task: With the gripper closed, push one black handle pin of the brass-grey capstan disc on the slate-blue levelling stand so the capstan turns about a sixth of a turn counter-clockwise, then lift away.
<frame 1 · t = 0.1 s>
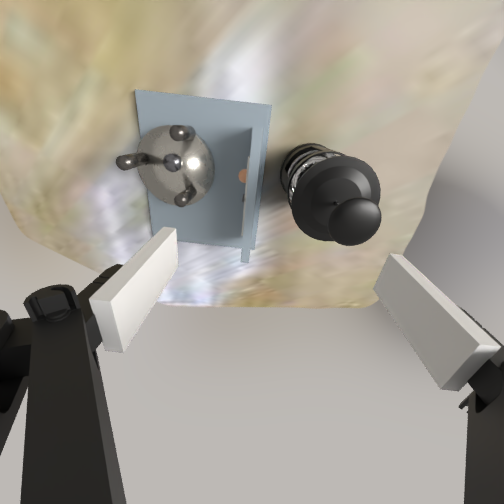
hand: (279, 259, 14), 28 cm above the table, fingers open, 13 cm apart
stand: (205, 180, 39), on the table
french press: (310, 173, 38), on the table
capstan: (170, 169, 34), point 5 cm above the table, hinge at 0.0°
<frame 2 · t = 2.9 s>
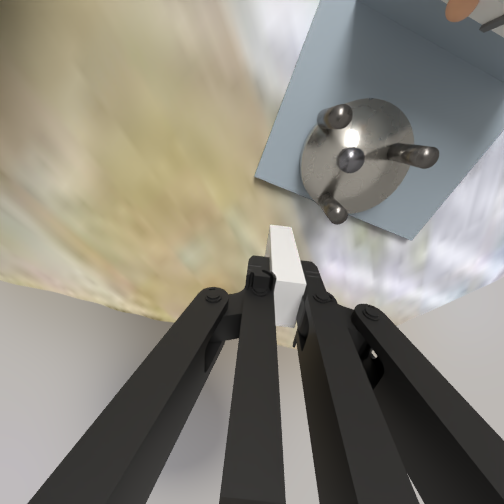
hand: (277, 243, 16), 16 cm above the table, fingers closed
stand: (379, 131, 27), on the table
capstan: (361, 164, 24), point 5 cm above the table, hinge at 0.0°
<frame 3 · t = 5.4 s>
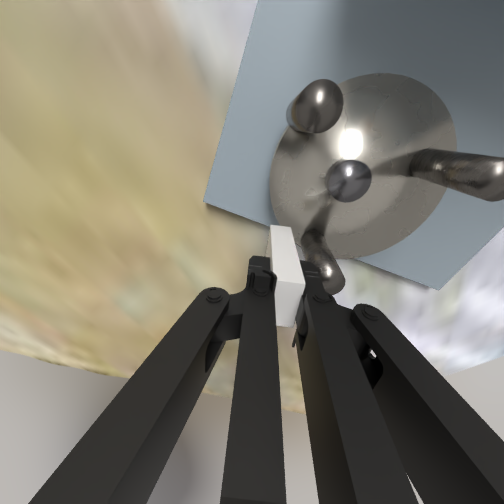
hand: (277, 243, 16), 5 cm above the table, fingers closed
stand: (394, 132, 17), on the table
capstan: (365, 189, 14), point 5 cm above the table, hinge at 2.4°, touching gripper
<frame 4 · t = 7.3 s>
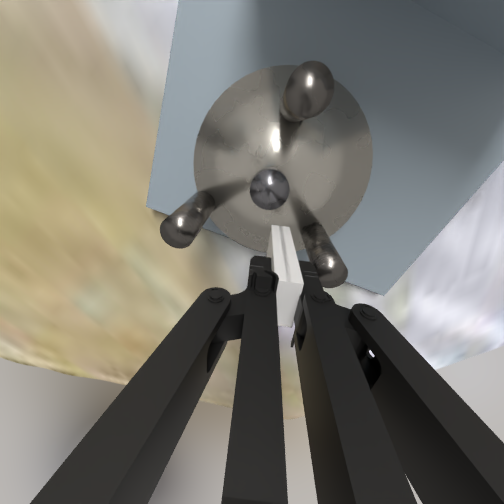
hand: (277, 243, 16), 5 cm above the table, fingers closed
stand: (325, 142, 17), on the table
capstan: (280, 183, 14), point 5 cm above the table, hinge at 65.9°, touching gripper
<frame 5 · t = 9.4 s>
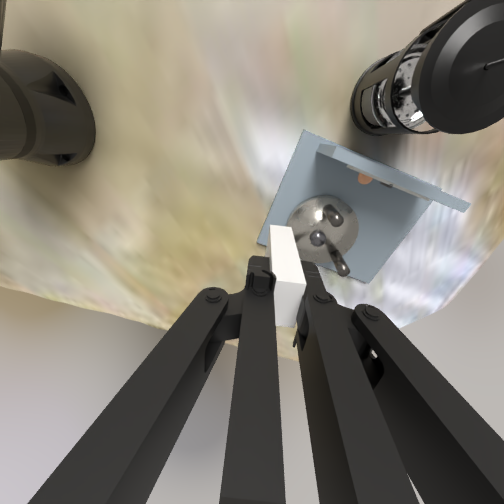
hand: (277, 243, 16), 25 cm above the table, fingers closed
stand: (339, 215, 40), on the table
french press: (386, 94, 32), on the table
capstan: (323, 237, 37), point 5 cm above the table, hinge at 66.9°
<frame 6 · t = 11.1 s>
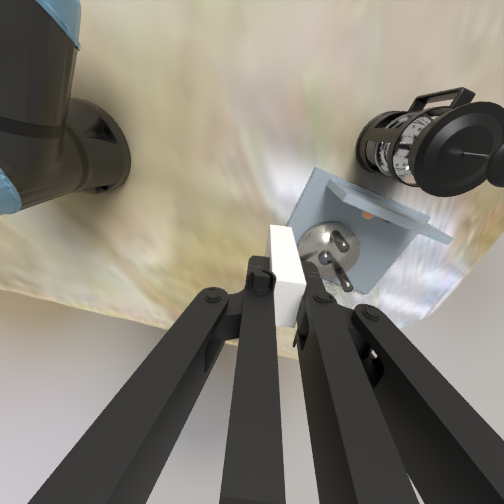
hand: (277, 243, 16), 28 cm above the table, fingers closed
stand: (343, 237, 46), on the table
french press: (386, 140, 38), on the table
capstan: (330, 258, 43), point 5 cm above the table, hinge at 66.9°
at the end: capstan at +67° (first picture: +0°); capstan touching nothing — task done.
